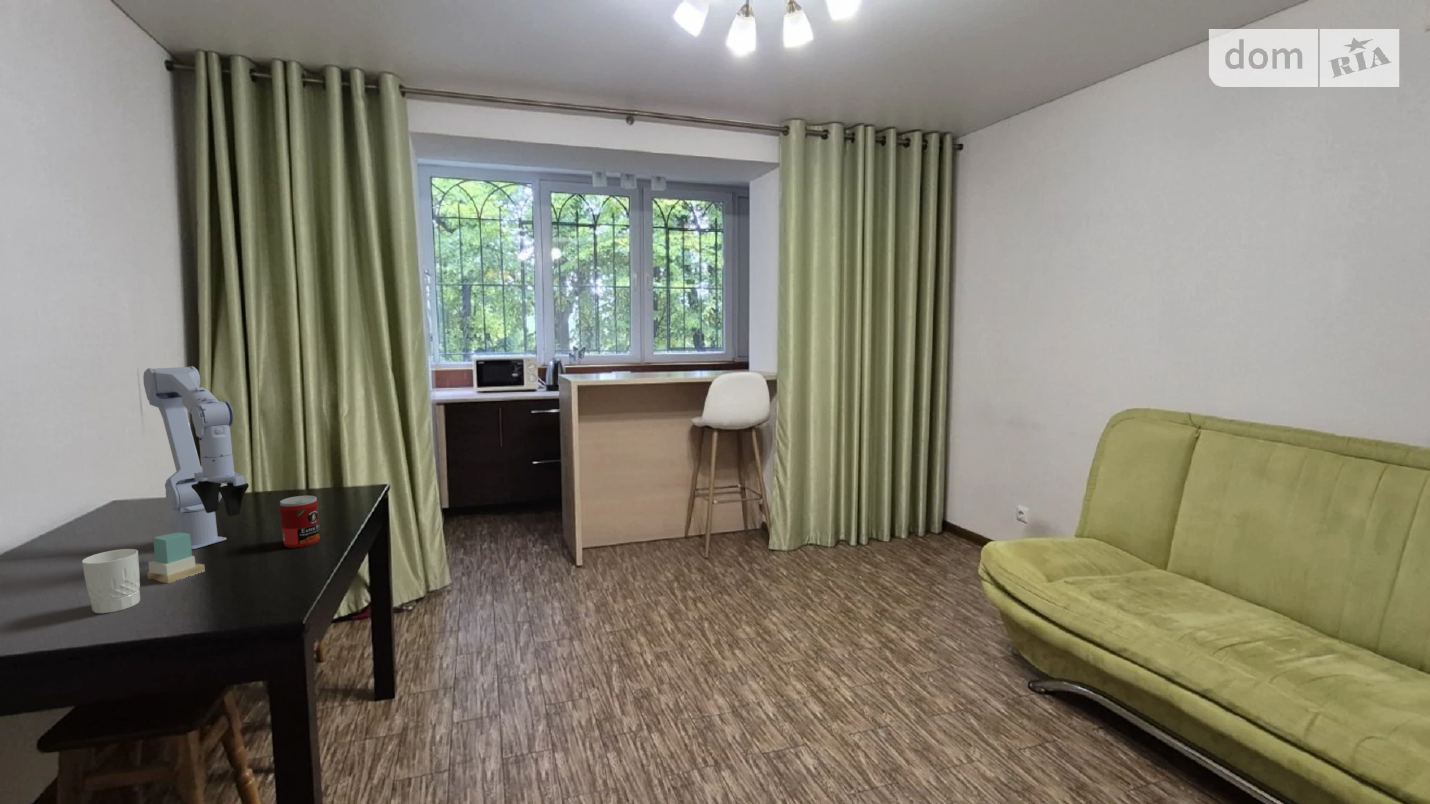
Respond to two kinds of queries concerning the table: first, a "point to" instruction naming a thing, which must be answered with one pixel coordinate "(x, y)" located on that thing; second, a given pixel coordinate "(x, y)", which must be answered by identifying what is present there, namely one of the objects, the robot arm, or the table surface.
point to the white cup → (112, 580)
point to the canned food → (299, 521)
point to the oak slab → (177, 574)
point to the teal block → (172, 547)
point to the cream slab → (171, 566)
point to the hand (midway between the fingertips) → (223, 513)
